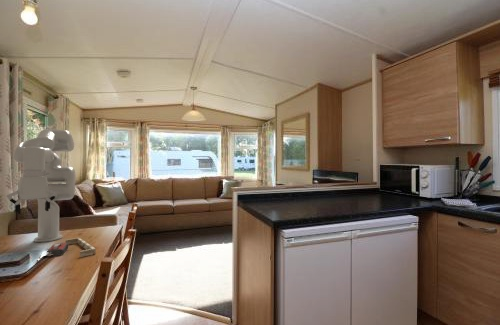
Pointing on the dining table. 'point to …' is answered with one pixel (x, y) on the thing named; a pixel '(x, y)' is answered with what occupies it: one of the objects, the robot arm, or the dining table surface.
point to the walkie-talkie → (58, 249)
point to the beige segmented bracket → (88, 247)
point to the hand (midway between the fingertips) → (33, 212)
